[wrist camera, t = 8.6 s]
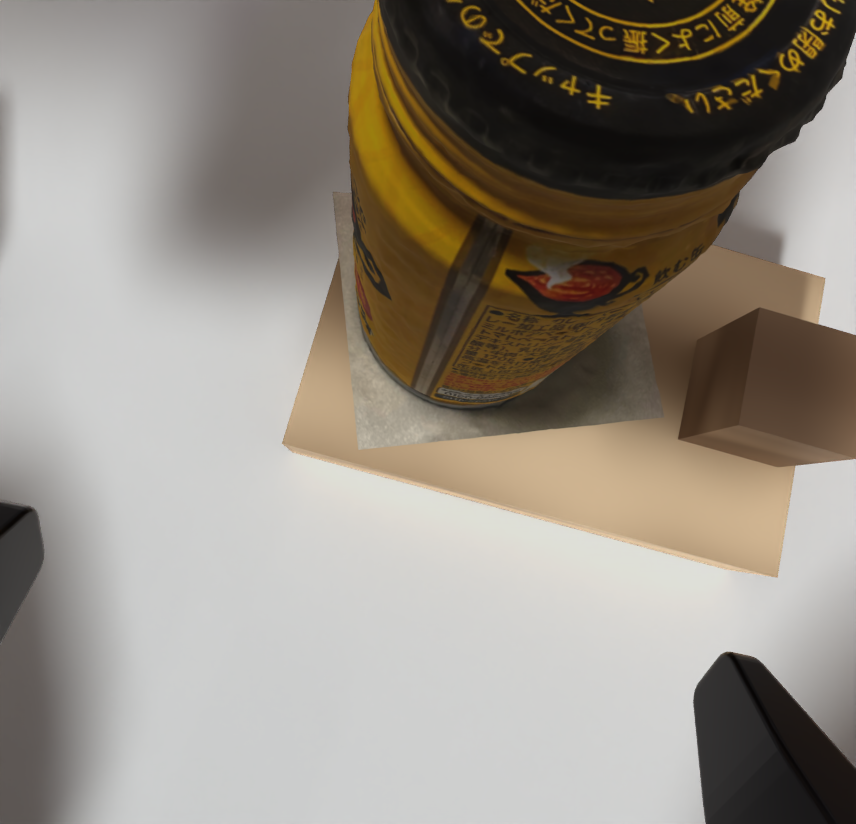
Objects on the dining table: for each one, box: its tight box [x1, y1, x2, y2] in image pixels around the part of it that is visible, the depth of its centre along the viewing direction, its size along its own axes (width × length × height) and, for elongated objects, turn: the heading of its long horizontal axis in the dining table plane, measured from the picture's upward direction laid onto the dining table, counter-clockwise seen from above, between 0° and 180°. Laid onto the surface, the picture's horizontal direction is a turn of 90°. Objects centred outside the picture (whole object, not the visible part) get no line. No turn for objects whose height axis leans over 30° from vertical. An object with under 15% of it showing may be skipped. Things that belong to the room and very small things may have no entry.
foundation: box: [282, 244, 856, 577], centre depth 18 cm, size 9×14×6 cm, turn 75°
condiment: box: [333, 0, 856, 450], centre depth 12 cm, size 7×8×12 cm
